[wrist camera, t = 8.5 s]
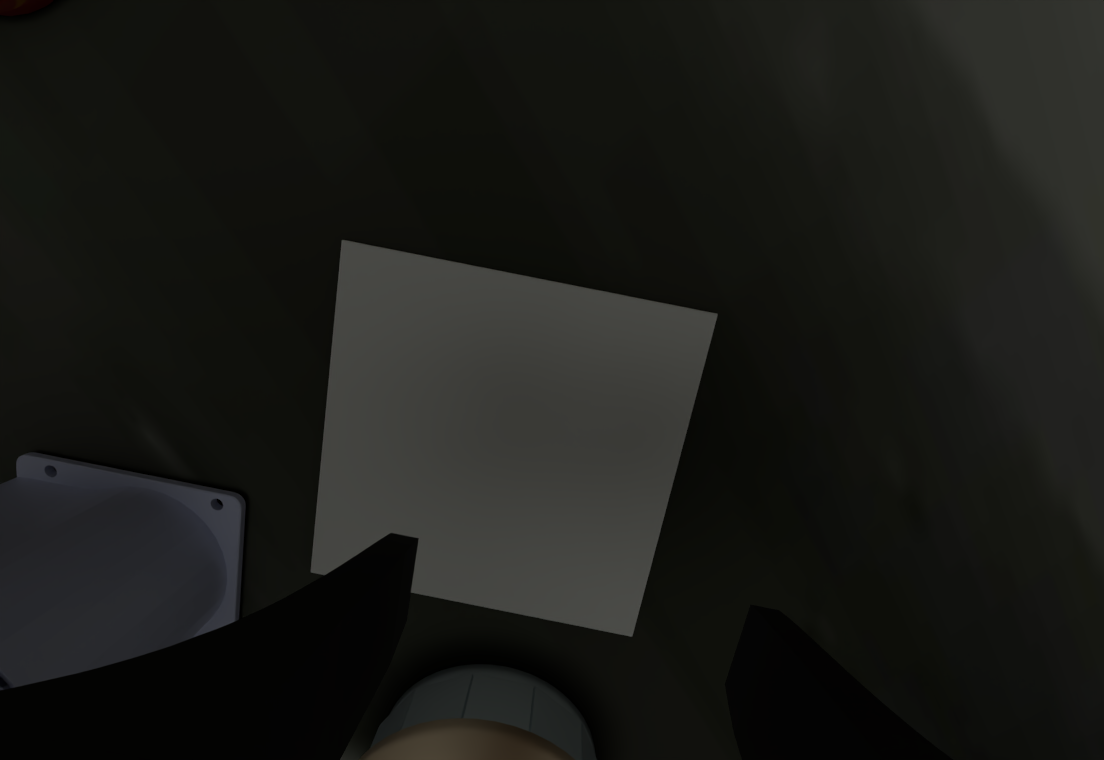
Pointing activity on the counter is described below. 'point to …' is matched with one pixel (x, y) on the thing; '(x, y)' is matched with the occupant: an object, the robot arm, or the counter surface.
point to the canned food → (21, 6)
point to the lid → (464, 743)
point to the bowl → (493, 705)
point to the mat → (504, 432)
